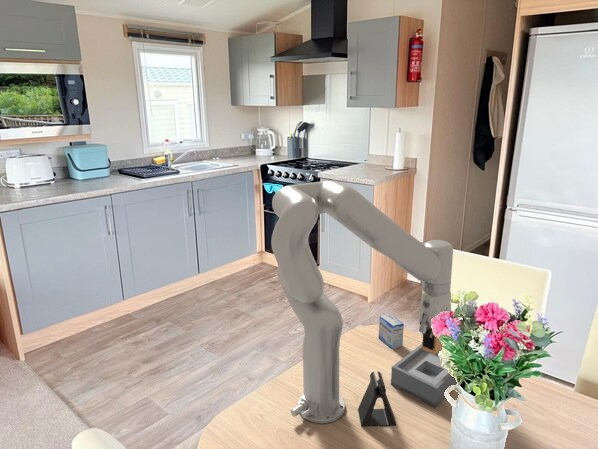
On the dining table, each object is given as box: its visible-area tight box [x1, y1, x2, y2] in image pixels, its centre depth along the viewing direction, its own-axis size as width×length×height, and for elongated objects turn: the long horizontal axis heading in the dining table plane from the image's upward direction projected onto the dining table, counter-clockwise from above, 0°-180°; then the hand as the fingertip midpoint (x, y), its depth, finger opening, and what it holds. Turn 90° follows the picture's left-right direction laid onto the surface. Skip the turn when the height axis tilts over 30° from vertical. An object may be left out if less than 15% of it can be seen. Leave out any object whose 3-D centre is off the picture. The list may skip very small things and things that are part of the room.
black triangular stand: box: [357, 371, 397, 428], centre depth 111 cm, size 9×6×12 cm, turn 90°
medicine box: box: [378, 313, 405, 350], centre depth 146 cm, size 8×4×9 cm, turn 25°
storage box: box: [390, 343, 457, 408], centre depth 126 cm, size 18×14×6 cm
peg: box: [421, 328, 443, 355], centre depth 122 cm, size 4×4×10 cm
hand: (432, 343), depth 123 cm, fingers closed on peg, 4 cm apart
